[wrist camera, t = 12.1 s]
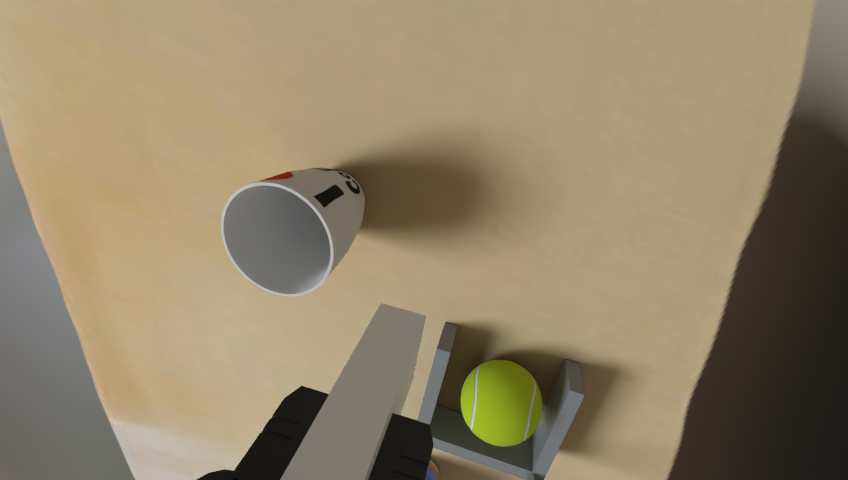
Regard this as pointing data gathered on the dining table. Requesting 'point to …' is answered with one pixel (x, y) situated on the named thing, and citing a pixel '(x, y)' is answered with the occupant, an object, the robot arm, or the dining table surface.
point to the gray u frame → (515, 460)
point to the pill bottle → (432, 472)
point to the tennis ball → (501, 403)
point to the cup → (292, 228)
